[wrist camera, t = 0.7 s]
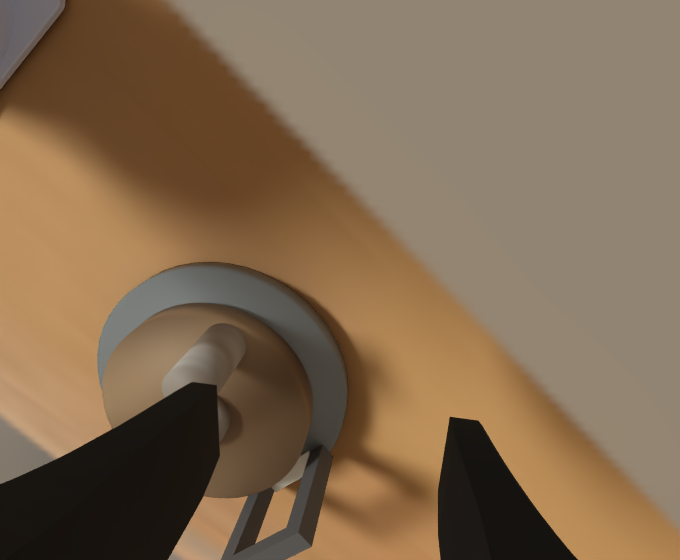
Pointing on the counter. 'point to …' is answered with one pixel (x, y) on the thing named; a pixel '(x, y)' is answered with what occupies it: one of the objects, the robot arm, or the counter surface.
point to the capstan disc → (219, 388)
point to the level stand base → (311, 348)
